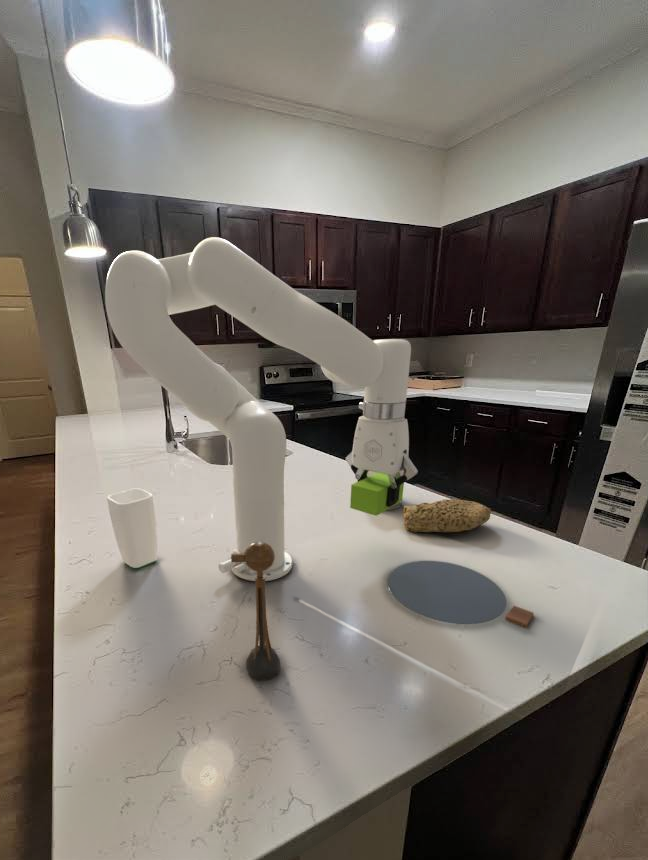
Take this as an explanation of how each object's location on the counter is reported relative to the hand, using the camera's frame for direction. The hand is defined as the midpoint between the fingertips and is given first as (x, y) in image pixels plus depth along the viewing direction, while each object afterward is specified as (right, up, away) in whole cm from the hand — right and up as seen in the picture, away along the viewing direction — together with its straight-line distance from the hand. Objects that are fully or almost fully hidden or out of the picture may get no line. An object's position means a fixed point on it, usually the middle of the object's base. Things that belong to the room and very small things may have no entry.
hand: (376, 499), depth 85 cm
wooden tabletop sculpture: (-23, -25, -25) cm, 42 cm away
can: (+9, 0, +31) cm, 32 cm away
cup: (-49, -13, +3) cm, 51 cm away
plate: (+10, -17, -9) cm, 22 cm away
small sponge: (0, -1, 0) cm, 1 cm away
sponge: (+20, -6, +15) cm, 26 cm away
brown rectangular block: (+19, -20, -17) cm, 32 cm away
